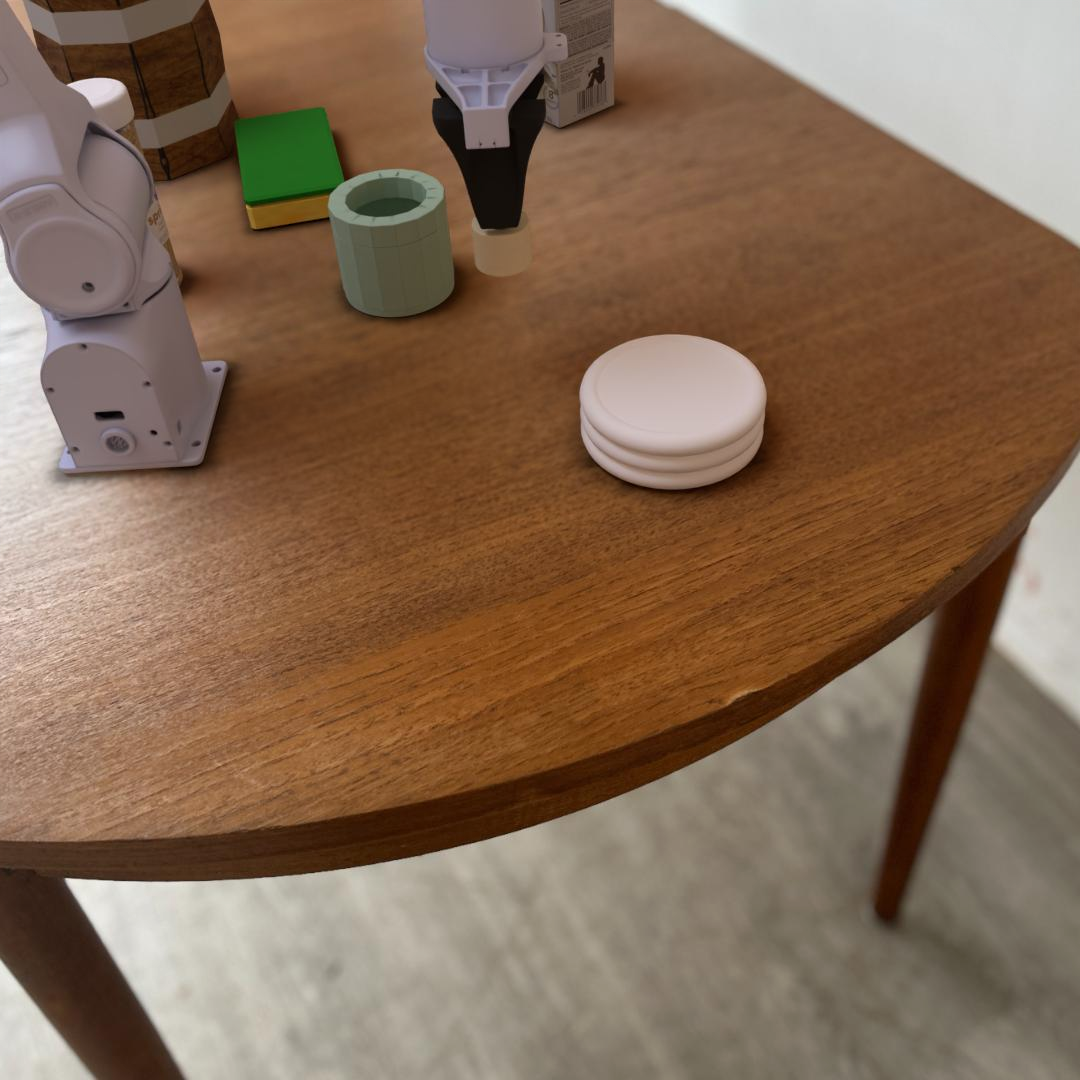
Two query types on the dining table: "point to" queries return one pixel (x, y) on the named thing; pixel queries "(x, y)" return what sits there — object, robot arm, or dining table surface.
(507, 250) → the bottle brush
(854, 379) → the dining table surface
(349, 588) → the dining table surface
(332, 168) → the dish sponge
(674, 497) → the dining table surface
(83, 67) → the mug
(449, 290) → the jar
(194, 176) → the dining table surface
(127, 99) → the sprinkles bottle
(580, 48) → the coffee box
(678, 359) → the white stacked discs
